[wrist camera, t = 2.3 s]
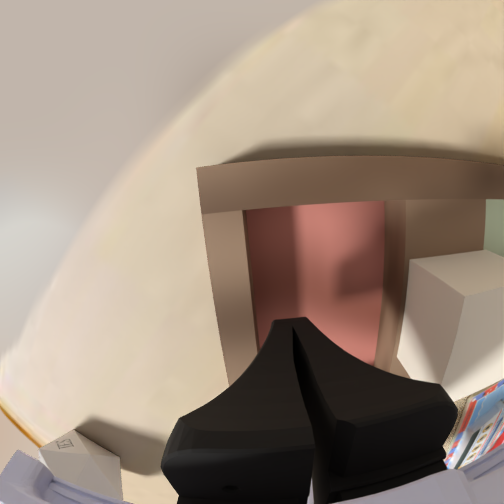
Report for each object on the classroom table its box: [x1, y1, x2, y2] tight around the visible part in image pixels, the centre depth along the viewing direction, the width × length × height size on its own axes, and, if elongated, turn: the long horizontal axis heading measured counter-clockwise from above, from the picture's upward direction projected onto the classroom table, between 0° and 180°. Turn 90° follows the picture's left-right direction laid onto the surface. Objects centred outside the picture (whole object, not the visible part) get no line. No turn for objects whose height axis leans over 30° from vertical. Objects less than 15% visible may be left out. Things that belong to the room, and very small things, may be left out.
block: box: [397, 250, 504, 402], centre depth 9 cm, size 5×5×4 cm
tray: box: [196, 156, 504, 387], centre depth 12 cm, size 14×28×2 cm, turn 96°
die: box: [38, 429, 123, 500], centre depth 15 cm, size 8×9×10 cm
